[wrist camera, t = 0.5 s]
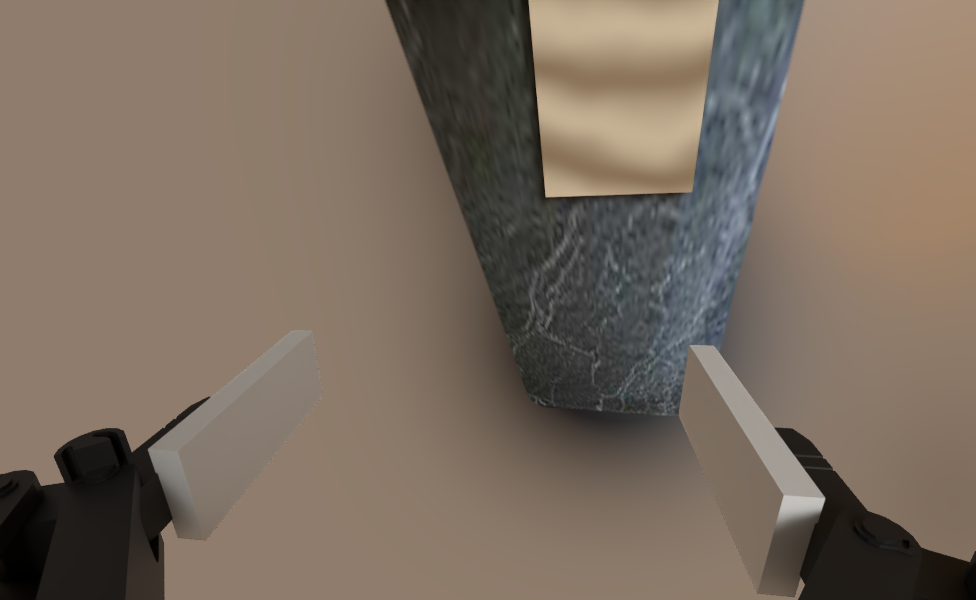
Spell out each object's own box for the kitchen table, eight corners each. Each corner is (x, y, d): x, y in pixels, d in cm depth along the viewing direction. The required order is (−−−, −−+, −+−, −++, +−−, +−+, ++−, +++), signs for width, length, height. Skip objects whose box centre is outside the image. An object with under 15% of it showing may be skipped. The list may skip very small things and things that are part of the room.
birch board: (524, -97, 29) (520, -95, 28) (733, -139, 26) (737, -140, 25) (547, 188, 42) (545, 197, 41) (690, 183, 39) (691, 192, 38)
